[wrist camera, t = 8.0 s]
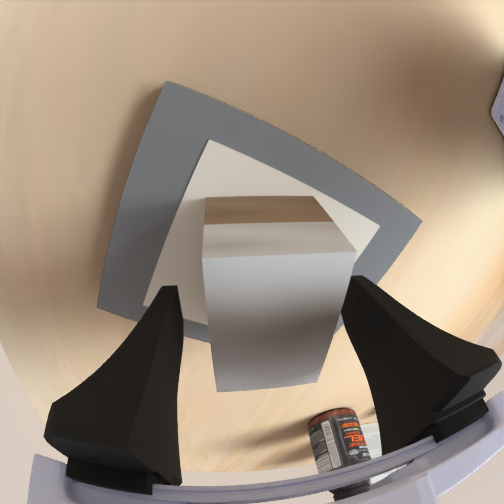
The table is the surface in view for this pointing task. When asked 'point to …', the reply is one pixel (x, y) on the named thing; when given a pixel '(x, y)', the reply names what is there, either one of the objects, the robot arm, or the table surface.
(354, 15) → the table surface
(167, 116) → the stand
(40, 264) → the table surface
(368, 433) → the small box
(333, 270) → the block
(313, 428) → the supplement bottle
